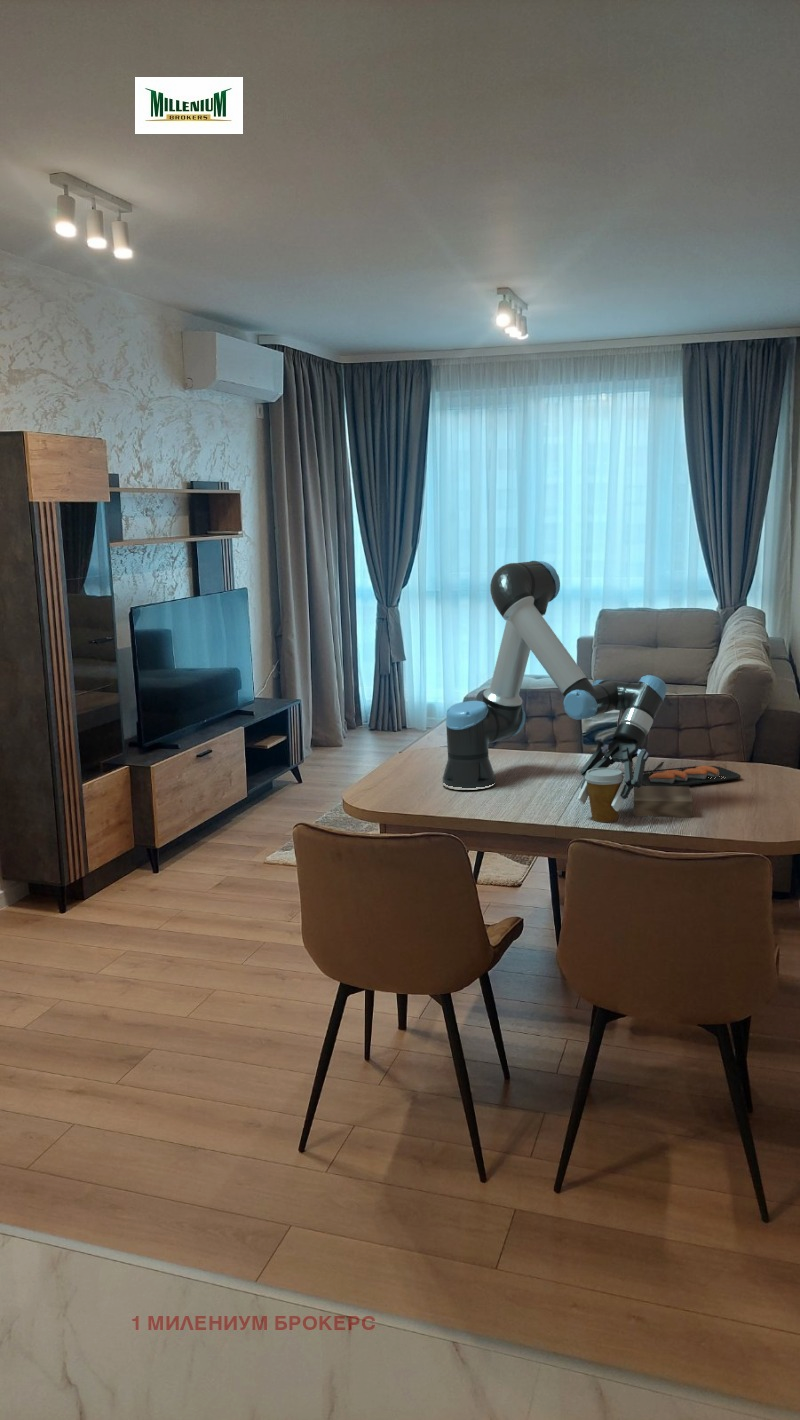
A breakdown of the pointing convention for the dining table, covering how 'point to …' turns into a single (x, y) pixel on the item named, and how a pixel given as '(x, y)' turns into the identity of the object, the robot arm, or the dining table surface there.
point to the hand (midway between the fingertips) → (597, 804)
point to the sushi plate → (686, 776)
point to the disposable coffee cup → (603, 792)
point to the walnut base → (662, 801)
